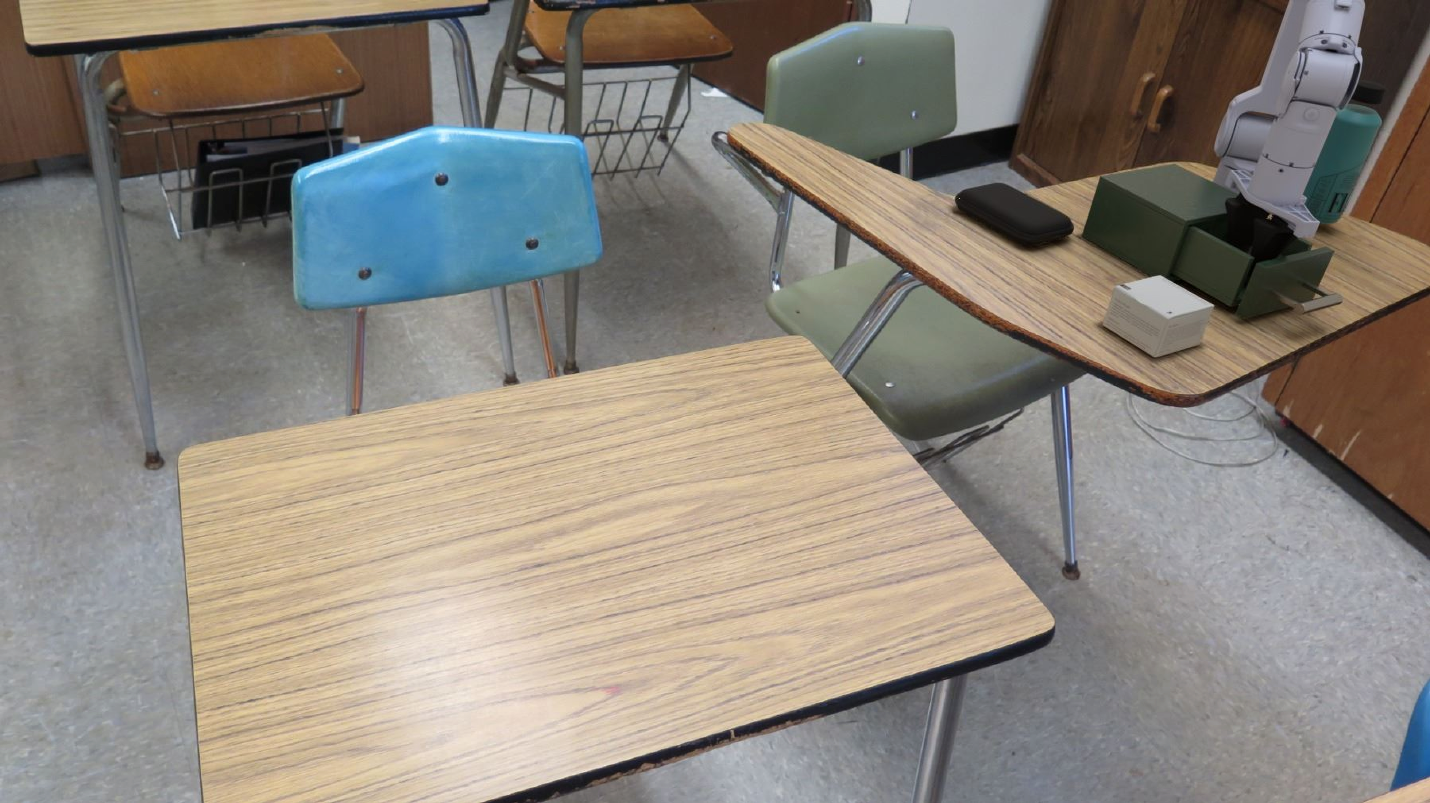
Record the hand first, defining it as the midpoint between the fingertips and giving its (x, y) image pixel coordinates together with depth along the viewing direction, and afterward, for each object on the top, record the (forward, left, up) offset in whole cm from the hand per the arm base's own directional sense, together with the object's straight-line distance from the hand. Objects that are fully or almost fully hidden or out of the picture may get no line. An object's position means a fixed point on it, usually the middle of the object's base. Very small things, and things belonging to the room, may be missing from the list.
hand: (1244, 266), depth 129 cm
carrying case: (-1, -28, -4) cm, 29 cm away
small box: (+18, -6, -4) cm, 19 cm away
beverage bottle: (-31, +6, -4) cm, 32 cm away
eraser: (0, 0, -1) cm, 1 cm away
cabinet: (-6, -10, -4) cm, 12 cm away
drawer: (+1, +2, -3) cm, 3 cm away
